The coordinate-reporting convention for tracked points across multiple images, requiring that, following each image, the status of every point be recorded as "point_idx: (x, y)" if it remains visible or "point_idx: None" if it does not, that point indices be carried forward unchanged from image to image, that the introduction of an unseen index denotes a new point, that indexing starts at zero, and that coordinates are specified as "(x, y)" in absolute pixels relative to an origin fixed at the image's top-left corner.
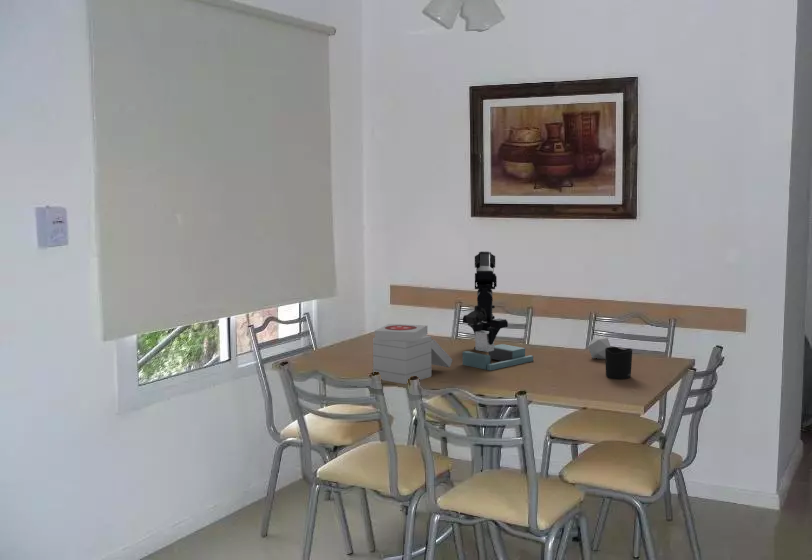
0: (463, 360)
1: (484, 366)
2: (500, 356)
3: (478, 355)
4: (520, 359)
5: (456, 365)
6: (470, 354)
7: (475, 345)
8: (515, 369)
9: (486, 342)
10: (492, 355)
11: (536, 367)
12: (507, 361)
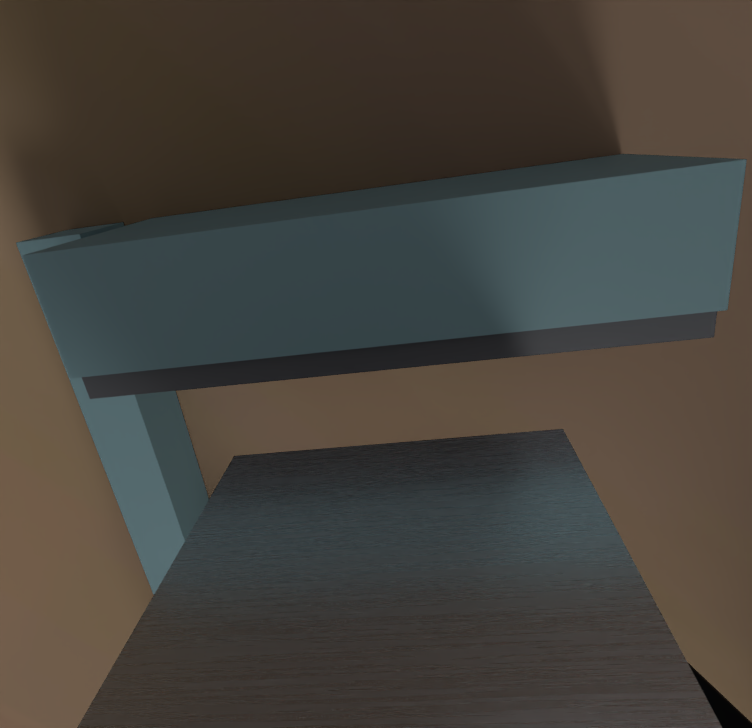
0: (630, 159)
1: (151, 221)
2: None
3: (225, 229)
4: None
5: (661, 25)
6: (466, 195)
7: (586, 484)
8: (14, 493)
9: (154, 613)
10: None
11: (22, 666)
12: (141, 559)
